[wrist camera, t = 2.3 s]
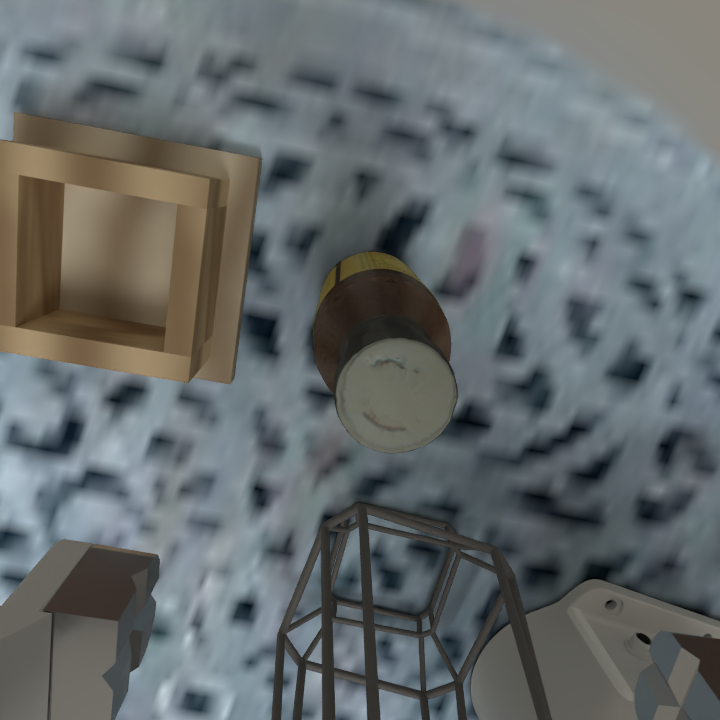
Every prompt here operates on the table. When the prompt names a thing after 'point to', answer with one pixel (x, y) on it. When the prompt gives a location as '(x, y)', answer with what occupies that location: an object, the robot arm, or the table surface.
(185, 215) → the square wooden tray
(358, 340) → the sauce bottle
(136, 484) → the table surface
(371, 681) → the geometric lantern
